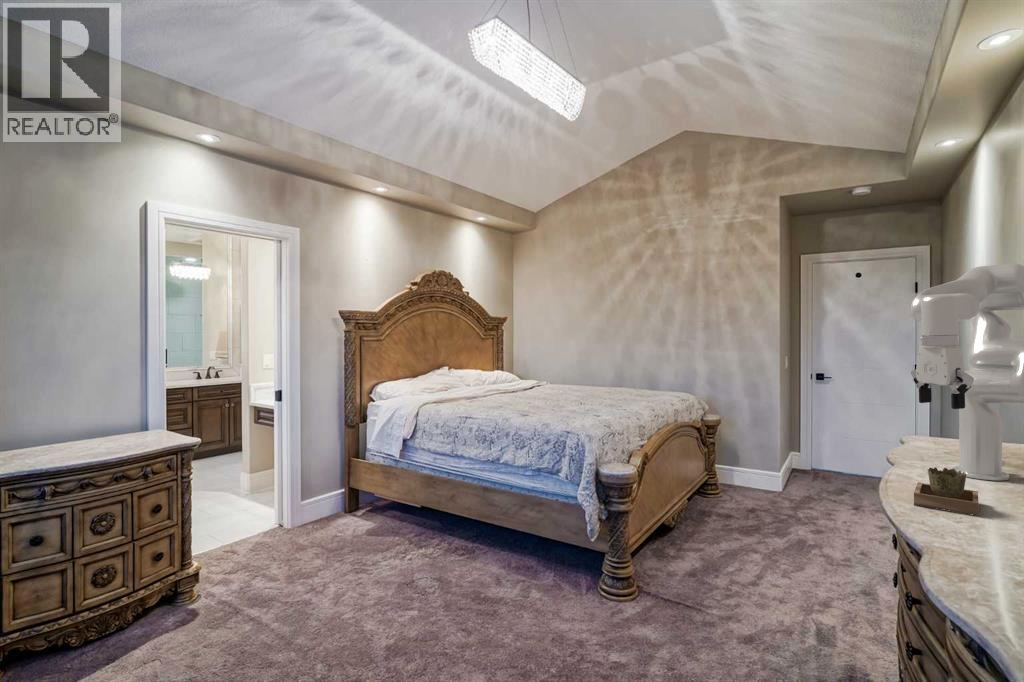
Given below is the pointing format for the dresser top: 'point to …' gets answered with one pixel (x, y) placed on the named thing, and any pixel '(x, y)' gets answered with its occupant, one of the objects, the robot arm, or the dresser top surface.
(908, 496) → the dresser top surface
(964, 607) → the dresser top surface
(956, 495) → the olive round vessel
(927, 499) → the box
